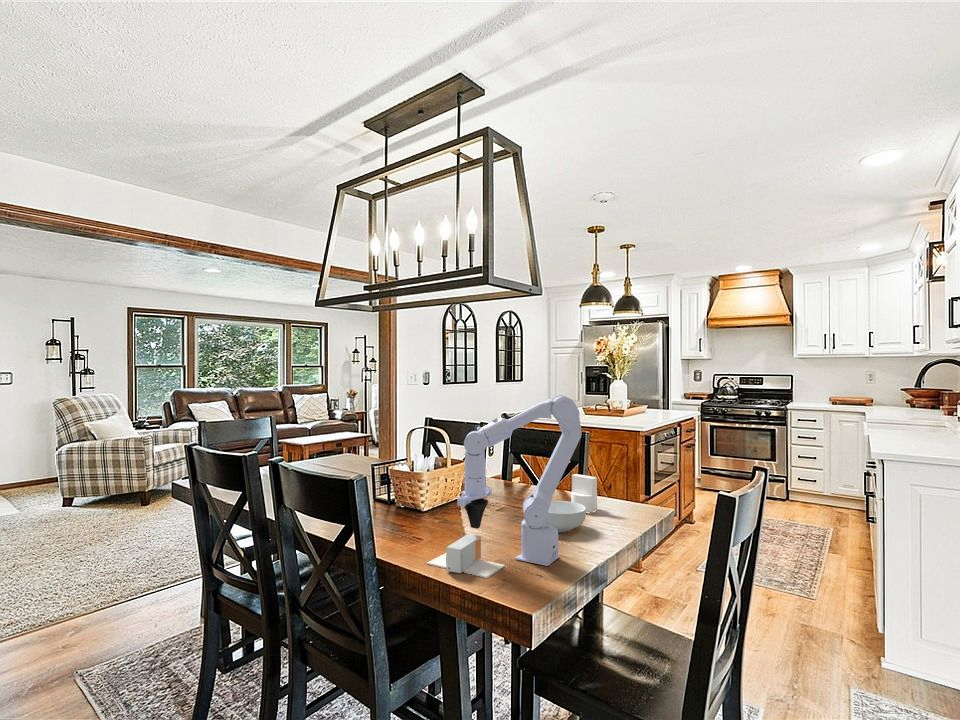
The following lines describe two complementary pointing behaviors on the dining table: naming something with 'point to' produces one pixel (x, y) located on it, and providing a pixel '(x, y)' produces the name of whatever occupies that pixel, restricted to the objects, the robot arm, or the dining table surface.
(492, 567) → the white rectangular slab
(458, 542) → the skincare box
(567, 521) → the cereal bowl
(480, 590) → the dining table surface
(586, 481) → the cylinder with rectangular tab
